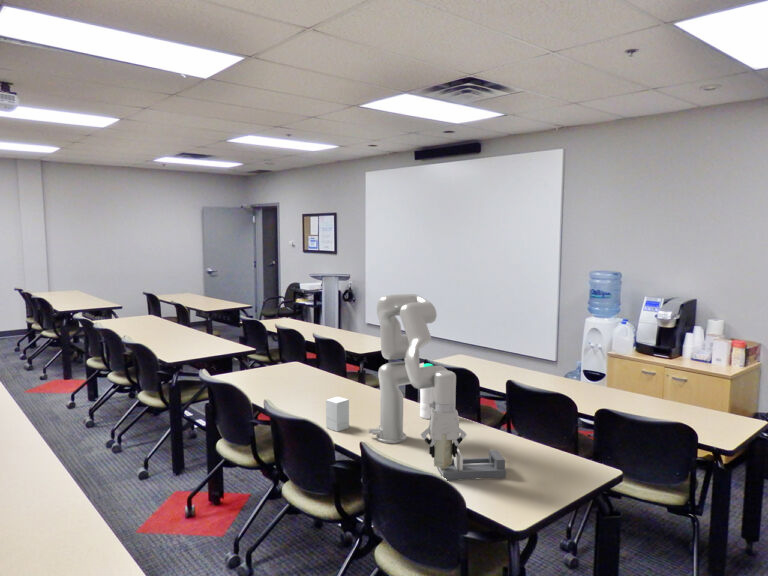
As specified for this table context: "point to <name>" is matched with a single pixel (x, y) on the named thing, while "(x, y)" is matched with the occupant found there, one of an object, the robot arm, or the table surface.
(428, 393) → the water bottle
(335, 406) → the supplement box
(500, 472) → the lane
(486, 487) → the table surface
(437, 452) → the skincare box
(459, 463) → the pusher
